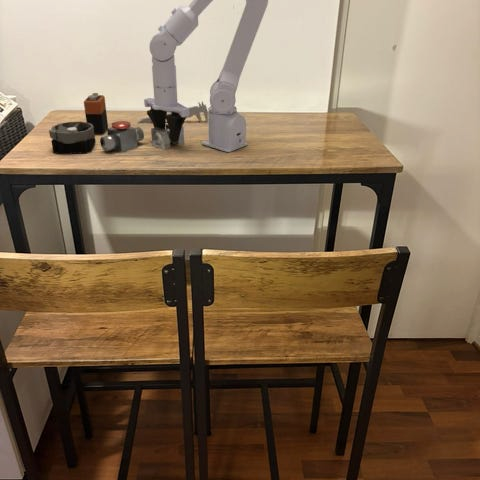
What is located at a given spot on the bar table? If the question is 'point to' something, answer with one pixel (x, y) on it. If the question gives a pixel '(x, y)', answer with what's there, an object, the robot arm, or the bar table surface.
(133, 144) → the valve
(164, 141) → the coupling
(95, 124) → the battery
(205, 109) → the caliper
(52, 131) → the cpu cooler
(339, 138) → the bar table surface
